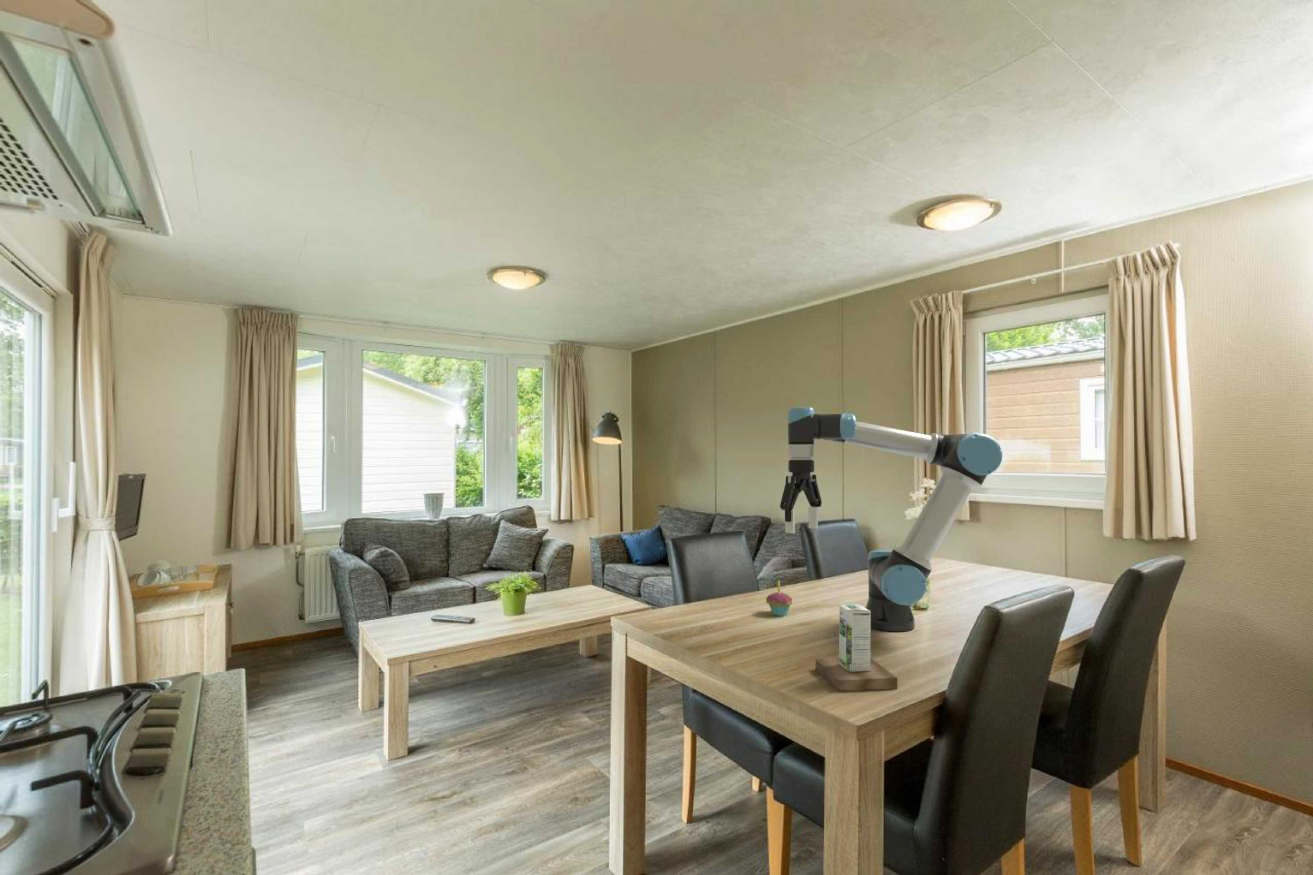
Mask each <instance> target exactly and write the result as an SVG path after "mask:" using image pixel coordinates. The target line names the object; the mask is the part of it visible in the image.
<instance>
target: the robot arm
mask: <svg viewBox="0 0 1313 875" xmlns="http://www.w3.org/2000/svg"><path fill="white" fill-rule="evenodd" d="M787 413H788V416H787V439H788V440H787V441H788V449H787V451H788V458H789V460H788V465H787V466H788V472H789V473H792V475H786V476H785V485H784V489H783V492H782V497H781V500H780V504H779V508H780V509H781V511H784V533H787V534H795V533H796V530H795V526H796V524H795V523H796V522H795V518H796V517H795V510H794V507H795V505H796V502H797V499H798V498H799V495H800V493H802V491H803V493H804V495H805V498H806V499H807V502H808V504H809V506H808V509H807V510H808V529H817V530H818V529H819V521H818V520H819V519H818V518H819V517H818V514H819V513H818V512H819V510H818V509H819V508H821V507H822V503H823V501H822V497H821V494H820V490H819V486H818V485H819V484H818V482H817V480H818V479H817V475H816V474H811V473H814V472H815V460H814V458H815V440H825V441H833V442H836V443H843V444H847V445H853V446H857V447H864V448H868V449H871V450H872V449H874V450H877V451H883V452H888V453H893V454H898V455H902V456H908V457H913V458H917V459H923V460H924V461H925V462H926V464H929V465H930V464H931V465H935V466H938V467H940V471H941V473H942V475H941V477H940V478H939V480H938V482H937V484H936V485H935V487H934V489H933V490H932V493H931V494H930V496H929V498H928V499H927V501H926V502H925V504H924V506H923V508H922V509H921V511H920V513H919V515H918V517H917V518H916V520H915V522H914V523H913V525H912V527H911V529H910V530H909V532H908V534H907V536H906V537H905V539H904V541H903V542H902V544H901V545H899V546H897V547H893V549H892V550H871V551H869V552H868V557H867V558H868V559H867V567H868V569H867V571H868V572H867V573H868V576H867V577H868V578H867V579H868V586H867V587H868V598H867V602H866V605H865V608H866V609H868V610H870V611H871V613H870V614H871V615H870V616H871V617H870V618H871V628H872V629H876V630H880V631H886V632H909V631H912V630H914V629H915V627H916V623H915V617H914V613H913V610H912V608H911V606H910V605H914V604H917V603H918V602H919V601H920V600H921V599H923V597H924V596H925V594H926V591H927V586H928V584H927V580H928V577H929V576H930V574H931V573H932V571H933V568H932V565H931V561H932V559H933V557H934V555H935V554H936V552H937V550H938V548H939V547H940V545H941V544H942V542H943V540H944V538H945V536H946V535H947V533H948V531H949V530H950V528H951V526H952V525H953V524H954V521H955V520H956V518H957V516H958V515H959V512H960V511H961V509H962V507H963V506H964V504H965V502H966V500H967V499H968V498H969V496H970V494H971V492H972V490H974V489H978V488H981V486H982V485H983V483H984V482H985V480H986V479H987V477H988V475H991V474H992V473H994V472H995V471H997V469H998V468H999V467H1000V466H1001V463H1002V462H1003V451H1002V448H1001V445H1000V444H999V442H998V441H997V440H996V439H995V438H994V437H992V436H991V435H988V434H985V433H981V432H969V433H959V434H958V433H957V434H943V433H937V432H936V433H935V432H932V433H931V434H923V433H920V432H919V433H918V432H914V431H909V430H903V429H899V428H893V427H888V426H883V425H878V424H872V423H867V422H862V421H857V419H856V416H855V414H853V413H822V414H821V413H820V414H819V413H815V410H814V408H813V407H810V406H807V407H804V406H802V407H801V406H800V407H799V406H798V407H792V408H790V409H789V410H788V412H787Z"/></svg>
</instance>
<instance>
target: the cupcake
mask: <svg viewBox="0 0 1313 875" xmlns="http://www.w3.org/2000/svg"><path fill="white" fill-rule="evenodd" d="M792 599H793V598H792V597H791V596H790V595H788V594H787V593H784V592H781V582H780V580H777V591H776V592H773V593H770V594H768V595H767V597H766V598H765V603H767V604H768V606H769V607H770V610H771V613H772V615H773V614H774V616H776V615H778V617H786V616H787V615H788V611H789V608H790V606H792V604H793V601H792Z"/></svg>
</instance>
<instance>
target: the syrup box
mask: <svg viewBox="0 0 1313 875" xmlns="http://www.w3.org/2000/svg"><path fill="white" fill-rule="evenodd" d="M870 613H871V611H870V610H868V609H866V606H863V605H861V604H856V603H848V604H847V603H845V604H840V605H839V621H838V622H839V623H838V624H839V628H838V629H839V632H838V633H839V634H838V636H839V638H838V641H839V642H838V645H839V646H838V648H839V649H838V658H839V664H840V665H841V666H842V667H844V668H845V669H846V670H847V671H848V672H860V671H870V658H871V633H872V632H871V618H870V617H871V616H870V615H871V614H870Z"/></svg>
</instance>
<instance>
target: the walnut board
mask: <svg viewBox="0 0 1313 875" xmlns="http://www.w3.org/2000/svg"><path fill="white" fill-rule="evenodd" d="M815 671H817V672H818V673H819V674H820V676H822V677H823V678H824V679H825V680H826V681H827V682H828V683H829V684H830V685H831V686H833V688H834V689H836V690H837V692H855V691H877V690H878V691H879V690H895V689H894V688H897V689H898V677H897V676H896V675H894V674H893V673H891V672H890V670H887V669H886V668H884V666H882V665H881V664H880V663H878V662H877V661H875V660H874V659H873V658H871V657H870V671H860V672H848V671H847V670H846V669H845V668H844V667H842V666H841V665H840V664H839V657H837V658H816V659H815Z"/></svg>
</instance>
